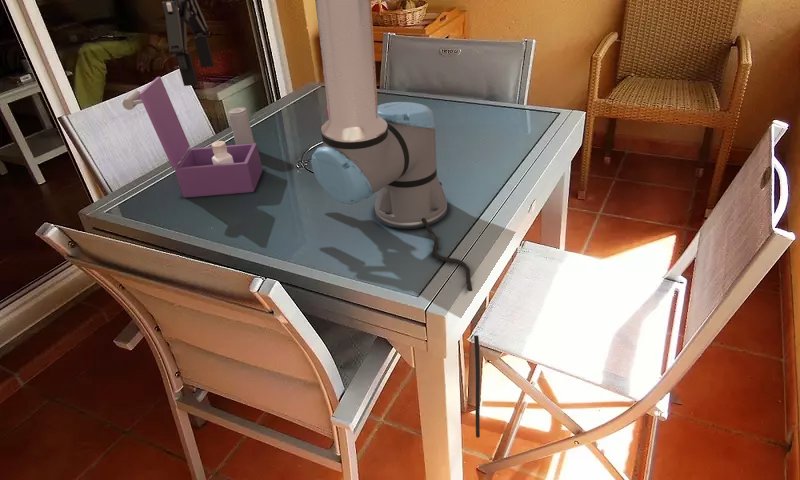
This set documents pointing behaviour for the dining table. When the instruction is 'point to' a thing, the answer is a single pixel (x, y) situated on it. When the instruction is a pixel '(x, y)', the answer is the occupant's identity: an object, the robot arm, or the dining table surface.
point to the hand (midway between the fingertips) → (199, 75)
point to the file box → (219, 171)
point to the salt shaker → (221, 153)
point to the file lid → (161, 119)
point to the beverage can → (240, 126)
